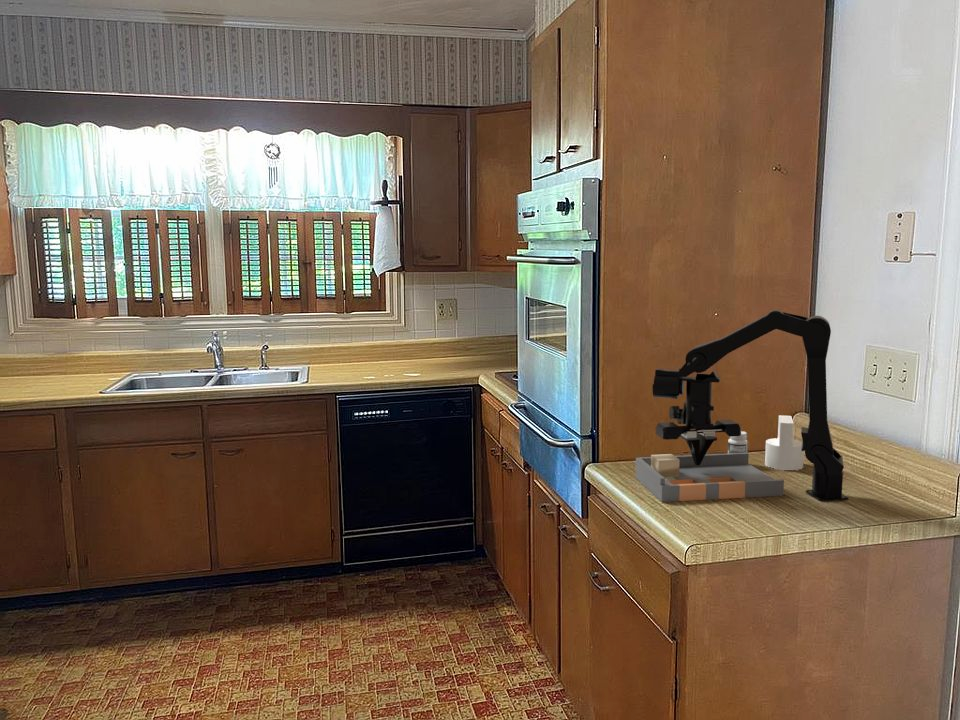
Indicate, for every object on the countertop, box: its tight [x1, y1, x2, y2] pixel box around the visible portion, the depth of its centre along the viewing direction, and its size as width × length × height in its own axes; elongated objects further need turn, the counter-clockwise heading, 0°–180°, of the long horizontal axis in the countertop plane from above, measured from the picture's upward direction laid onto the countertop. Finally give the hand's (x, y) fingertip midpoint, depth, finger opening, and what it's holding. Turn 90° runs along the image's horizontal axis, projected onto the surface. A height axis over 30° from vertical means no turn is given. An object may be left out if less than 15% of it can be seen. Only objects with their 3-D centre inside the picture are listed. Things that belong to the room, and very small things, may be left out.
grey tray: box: [635, 452, 785, 503], centre depth 174 cm, size 18×28×5 cm, turn 97°
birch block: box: [650, 453, 680, 477], centre depth 176 cm, size 5×5×4 cm
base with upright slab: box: [764, 414, 805, 471], centre depth 189 cm, size 9×9×12 cm
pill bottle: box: [727, 430, 749, 453], centre depth 191 cm, size 5×5×8 cm
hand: (697, 465), depth 177 cm, fingers closed
